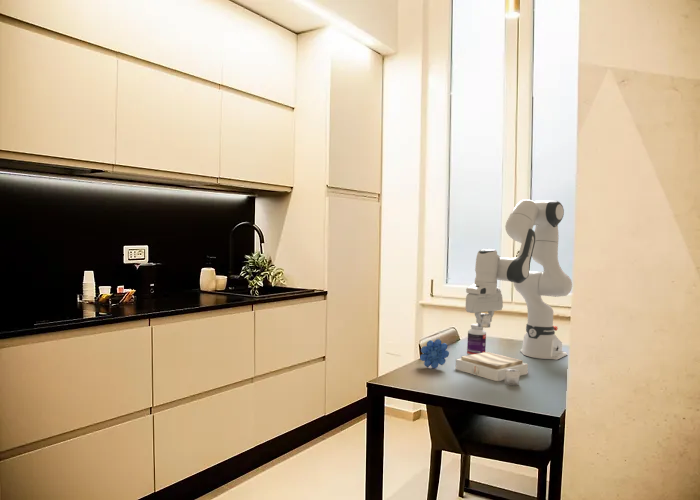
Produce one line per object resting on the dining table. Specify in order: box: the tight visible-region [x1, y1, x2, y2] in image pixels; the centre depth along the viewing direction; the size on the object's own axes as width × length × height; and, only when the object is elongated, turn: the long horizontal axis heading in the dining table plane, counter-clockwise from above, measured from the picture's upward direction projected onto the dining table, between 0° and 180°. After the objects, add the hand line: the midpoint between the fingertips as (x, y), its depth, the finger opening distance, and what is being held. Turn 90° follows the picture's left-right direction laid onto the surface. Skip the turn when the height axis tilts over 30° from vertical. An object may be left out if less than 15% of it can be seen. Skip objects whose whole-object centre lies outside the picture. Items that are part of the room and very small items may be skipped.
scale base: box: [455, 357, 529, 382], centre depth 206 cm, size 21×20×4 cm
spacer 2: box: [504, 369, 520, 387], centre depth 190 cm, size 5×5×5 cm
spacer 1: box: [477, 312, 491, 329], centre depth 209 cm, size 5×5×5 cm
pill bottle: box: [466, 323, 487, 356], centre depth 232 cm, size 8×8×14 cm
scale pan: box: [460, 351, 524, 369], centre depth 206 cm, size 17×17×1 cm
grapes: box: [419, 338, 450, 369], centre depth 209 cm, size 12×7×12 cm, turn 71°
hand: (484, 322), depth 209 cm, fingers closed on spacer 1, 5 cm apart
